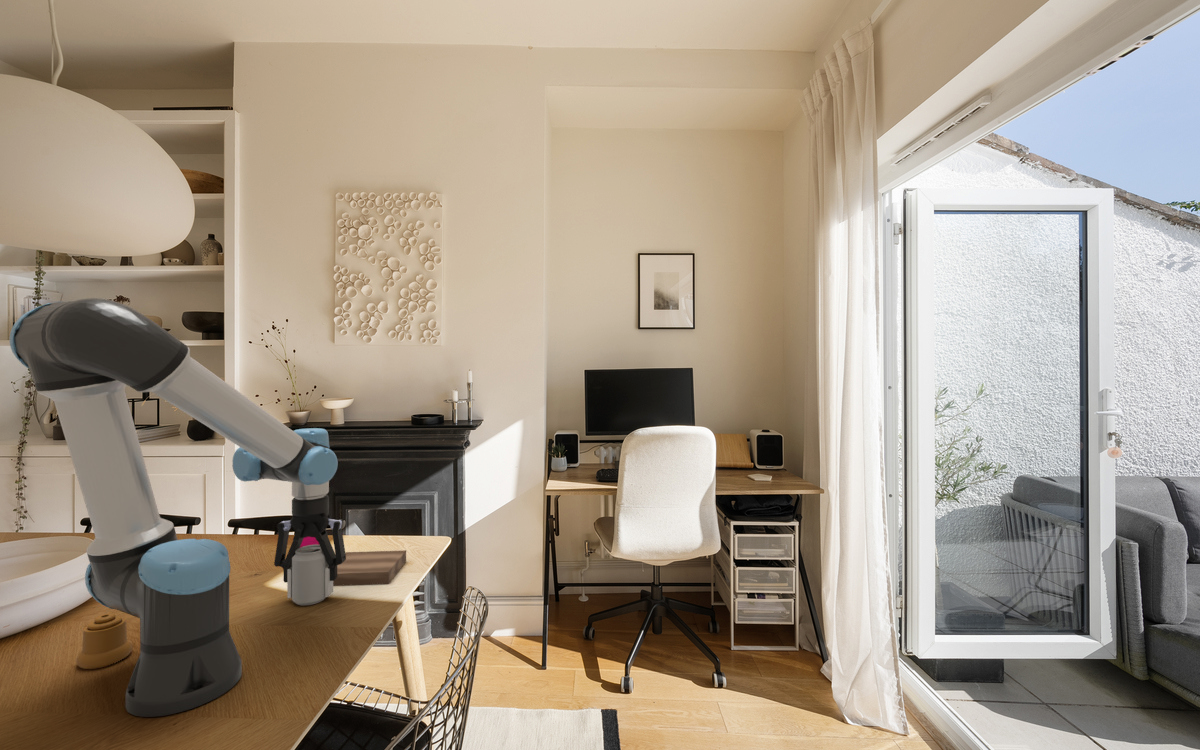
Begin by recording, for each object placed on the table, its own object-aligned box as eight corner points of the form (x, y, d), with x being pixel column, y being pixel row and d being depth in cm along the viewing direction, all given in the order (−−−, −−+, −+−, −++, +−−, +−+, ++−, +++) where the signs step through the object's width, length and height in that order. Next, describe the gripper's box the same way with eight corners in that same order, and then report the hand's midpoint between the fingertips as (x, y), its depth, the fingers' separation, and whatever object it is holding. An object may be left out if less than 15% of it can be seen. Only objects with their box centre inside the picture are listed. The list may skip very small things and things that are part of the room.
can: (312, 608, 118) (312, 554, 118) (283, 605, 119) (283, 552, 119) (336, 594, 125) (336, 543, 125) (308, 592, 127) (308, 541, 127)
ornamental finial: (142, 648, 101) (110, 670, 93) (100, 650, 100) (64, 672, 93) (142, 606, 101) (110, 624, 93) (100, 607, 100) (64, 626, 93)
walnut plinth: (388, 583, 131) (388, 571, 131) (321, 586, 130) (321, 574, 130) (406, 561, 147) (406, 550, 147) (346, 563, 146) (346, 552, 146)
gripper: (362, 491, 127) (362, 586, 127) (272, 493, 125) (272, 590, 125) (350, 498, 119) (350, 600, 119) (254, 500, 117) (255, 603, 117)
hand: (310, 594), depth 122 cm, fingers closed on can, 7 cm apart
